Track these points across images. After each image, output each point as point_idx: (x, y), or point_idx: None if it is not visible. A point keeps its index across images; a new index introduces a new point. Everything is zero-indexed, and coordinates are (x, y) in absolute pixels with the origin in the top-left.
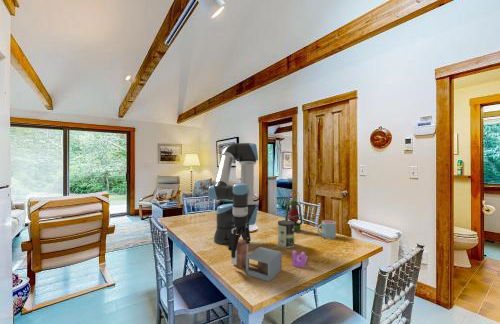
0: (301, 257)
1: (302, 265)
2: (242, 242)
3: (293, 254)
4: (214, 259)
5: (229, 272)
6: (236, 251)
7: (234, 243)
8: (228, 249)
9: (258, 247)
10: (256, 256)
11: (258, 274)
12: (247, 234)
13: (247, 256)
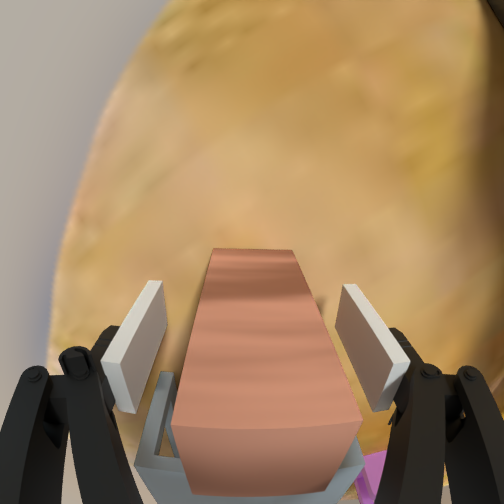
0: (361, 502)
1: (354, 480)
2: (227, 495)
3: (372, 495)
4: (235, 27)
5: (114, 277)
6: (124, 407)
7: (56, 479)
8: (24, 374)
9: (348, 467)
10: (179, 497)
11: (169, 436)
12: (458, 475)
13: (137, 469)
